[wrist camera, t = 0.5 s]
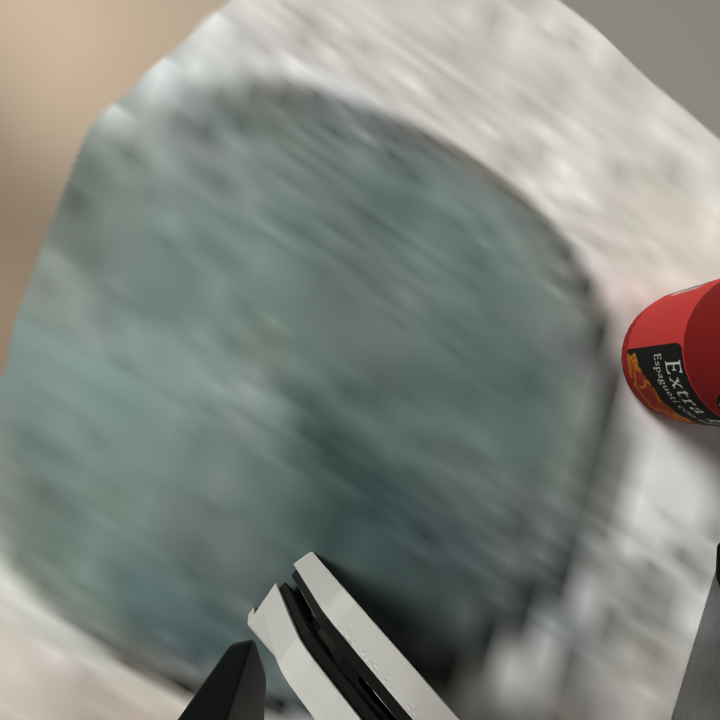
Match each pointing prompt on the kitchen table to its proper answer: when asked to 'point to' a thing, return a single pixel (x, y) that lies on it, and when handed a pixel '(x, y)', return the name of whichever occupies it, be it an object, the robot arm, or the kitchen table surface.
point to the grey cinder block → (703, 667)
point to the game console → (339, 652)
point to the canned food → (678, 355)
